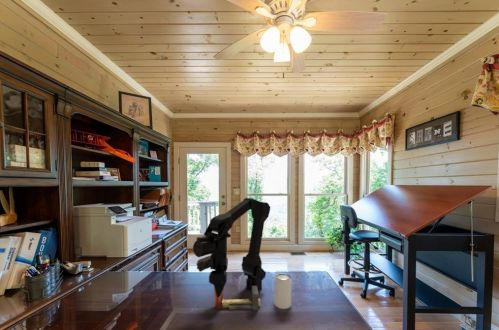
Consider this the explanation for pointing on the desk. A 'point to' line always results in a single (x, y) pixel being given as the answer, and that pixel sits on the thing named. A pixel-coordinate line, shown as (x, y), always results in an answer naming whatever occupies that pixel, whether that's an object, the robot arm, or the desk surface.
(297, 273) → the desk surface
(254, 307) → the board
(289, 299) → the can
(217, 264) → the robot arm
